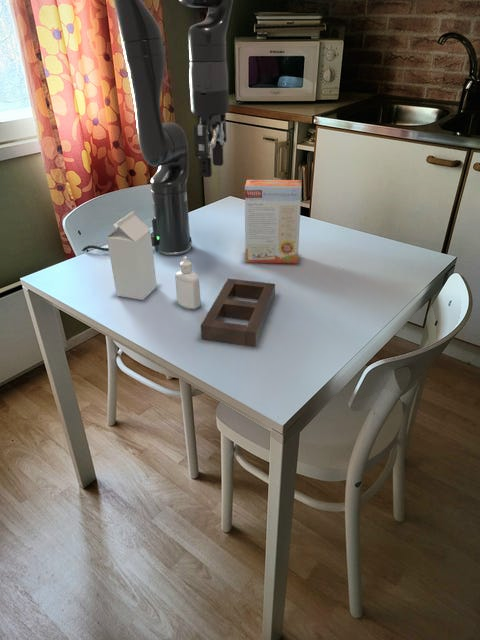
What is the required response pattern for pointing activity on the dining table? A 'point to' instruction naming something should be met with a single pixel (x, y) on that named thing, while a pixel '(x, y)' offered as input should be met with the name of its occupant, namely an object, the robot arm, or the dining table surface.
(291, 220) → the cracker box
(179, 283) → the eye dropper bottle
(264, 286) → the holder
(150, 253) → the milk carton
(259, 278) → the dining table surface
